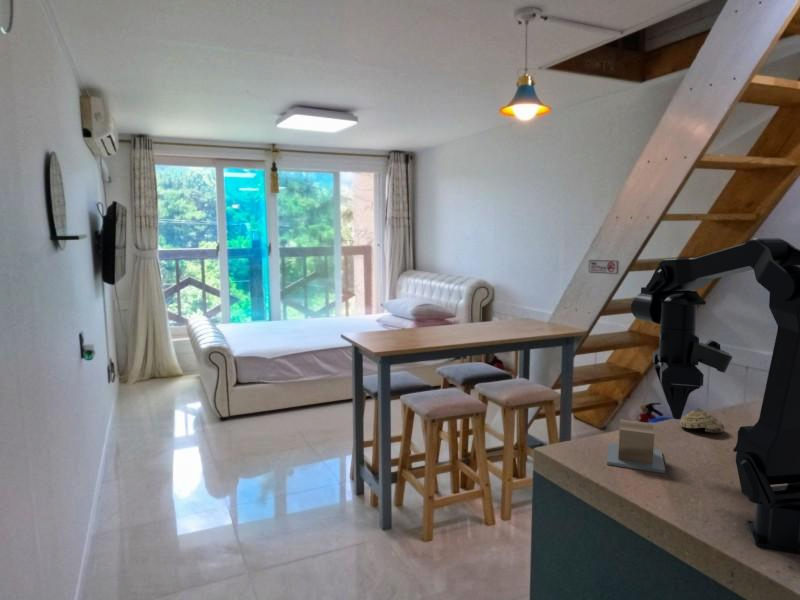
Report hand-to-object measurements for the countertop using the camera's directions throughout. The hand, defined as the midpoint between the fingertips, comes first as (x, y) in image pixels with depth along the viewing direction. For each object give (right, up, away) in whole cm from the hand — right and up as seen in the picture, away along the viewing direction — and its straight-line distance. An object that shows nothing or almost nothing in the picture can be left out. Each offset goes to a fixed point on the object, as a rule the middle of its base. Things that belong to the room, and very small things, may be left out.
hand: (673, 411), depth 96 cm
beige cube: (-4, -10, +7) cm, 13 cm away
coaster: (-4, -11, +7) cm, 13 cm away
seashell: (+21, -10, +19) cm, 30 cm away
